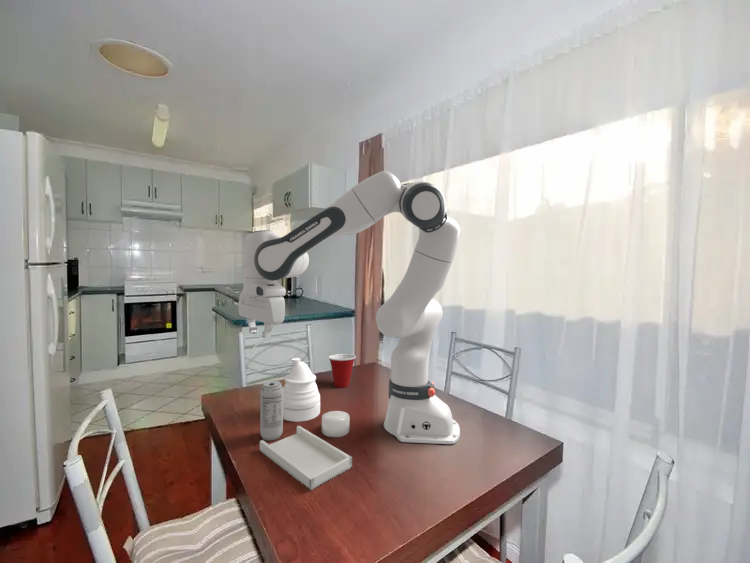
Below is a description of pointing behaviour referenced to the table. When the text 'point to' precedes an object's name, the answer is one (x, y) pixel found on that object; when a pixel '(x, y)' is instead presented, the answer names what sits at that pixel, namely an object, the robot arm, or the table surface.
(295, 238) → the robot arm
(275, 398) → the energy drink can
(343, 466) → the tray
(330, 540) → the table surface
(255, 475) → the table surface
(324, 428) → the white rounded puck
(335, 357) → the plastic cup
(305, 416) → the honey pot
